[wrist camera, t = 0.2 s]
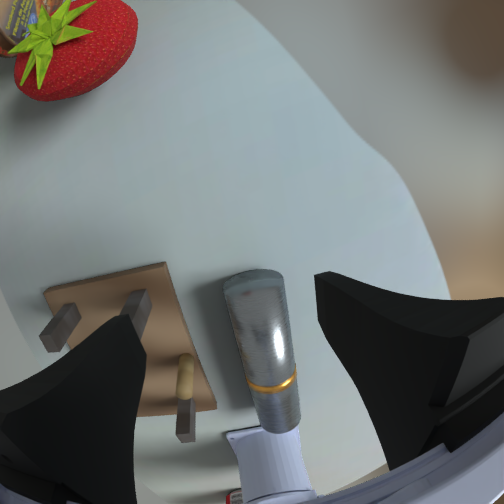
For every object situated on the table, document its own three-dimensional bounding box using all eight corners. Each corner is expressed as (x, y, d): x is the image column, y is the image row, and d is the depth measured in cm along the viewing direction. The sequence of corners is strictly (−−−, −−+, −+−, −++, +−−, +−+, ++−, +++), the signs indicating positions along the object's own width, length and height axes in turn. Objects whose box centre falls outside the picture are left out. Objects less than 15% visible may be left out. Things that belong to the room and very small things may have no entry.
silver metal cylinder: (294, 397, 26) (307, 426, 22) (255, 408, 25) (264, 439, 21) (274, 264, 21) (292, 288, 17) (219, 277, 20) (225, 305, 16)
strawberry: (164, 87, 15) (116, 25, 6) (66, 127, 15) (-30, 120, 6) (149, 20, 13) (109, -62, 4) (57, 61, 13) (-24, 23, 4)
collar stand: (216, 401, 24) (219, 446, 19) (118, 410, 24) (108, 450, 19) (165, 261, 19) (150, 298, 14) (48, 287, 19) (15, 321, 13)
